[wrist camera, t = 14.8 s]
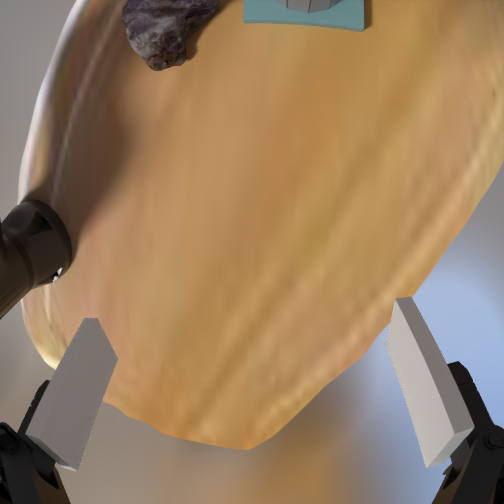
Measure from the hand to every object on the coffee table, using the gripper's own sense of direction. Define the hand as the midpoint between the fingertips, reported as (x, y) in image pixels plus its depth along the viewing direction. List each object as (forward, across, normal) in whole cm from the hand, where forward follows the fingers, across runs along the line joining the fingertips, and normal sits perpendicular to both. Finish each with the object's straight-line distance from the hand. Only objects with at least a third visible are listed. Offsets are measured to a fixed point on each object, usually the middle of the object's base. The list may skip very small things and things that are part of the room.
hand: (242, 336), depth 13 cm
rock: (+32, -8, +20) cm, 38 cm away
